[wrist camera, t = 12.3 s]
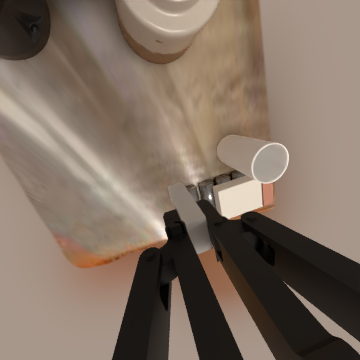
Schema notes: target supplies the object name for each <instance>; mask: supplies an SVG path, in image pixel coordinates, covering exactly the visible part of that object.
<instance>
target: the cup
mask: <svg viewBox="0 0 360 360" xmlns="http://www.w3.org/2000/svg"><path fill="white" fill-rule="evenodd" d="M217 156H218V158H219V160H220V161H221V162H223V163H224V164H226V165H228V166H230V167H232V168H234V169H235V170H237V171H239V172H241V173H243V174H245V175H247V176H248V177H250V178H252V179H254V180H256V181H258V182H260V183H264V184H268V183H272V182H274V181H276V180H277V179H279V178H280V177H281V176H282V174H283V173H284V172H285V170H286V168H287V166H288V162H289V155H288V151H287V149H286V148H285V147H284V146H283V145H281V144H279V143H275V142H270V141H265V140H259V139H254V138H249V137H244V136H239V135H227V136H225V137H224V138H223V139H222V140H221V141H220V142H219V144H218V146H217Z"/></svg>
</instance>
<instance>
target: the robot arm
mask: <svg viewBox="0 0 360 360" xmlns="http://www.w3.org/2000/svg"><path fill="white" fill-rule="evenodd" d="M49 33H50V15H49V10H48V7H47V4H46V1H45V0H0V57H1V58H4V59H10V60H22V59H27V58H30V57H32V56H34V55H36V54H37V53H39V52H40V51H41V50H42V49H43V47H44V46H45V44H46V42H47V40H48V37H49ZM167 187H168V190H169V194H170V197H171V200H172V204H173V207H174V210H172V211H169V212H166V213H165V214H164V216H163V218H164V222H165V226H166V227H165V231H166V234H167V237H168V241H167V243H166V244H165V245H164V246H163V247H161V248H160V249H158V248H156V247H151V248H148V249H146V250H145V251H143V253H142V254H141V255H140V257H139V261H138V264H137V268H136V272H135V276H134V279H133V283H132V287H131V290H130V294H129V298H128V302H127V305H126V309H125V313H124V317H123V321H122V324H121V328H120V332H119V335H118V339H117V343H116V346H115V350H114V354H113V358H112V360H168V351H169V331H170V308H171V288H172V287H171V286H172V282H171V281H172V280H173V279H175V278H176V277H177V276H178V278H179V282H180V286H181V290H182V293H183V298H184V301H185V305H186V309H187V313H188V317H189V321H190V324H191V328H192V332H193V336H194V340H195V344H196V347H197V352H198V356H199V359H200V360H243V358H242V356H241V353H240V351H239V348H238V346H237V344H236V341H235V339H234V337H233V335H232V332H231V330H230V328H229V326H228V323H227V321H226V319H225V317H224V314H223V312H222V310H221V307H220V305H219V303H218V300H217V298H216V296H215V294H214V291H213V289H212V287H211V285H210V282H209V280H208V278H207V275H206V273H205V271H204V269H203V267H202V264H201V262H200V260H199V257H198V255H197V254H199V253H202V252H204V251H207V250H210V249H212V248H213V247H212V245H213V246H214V249H215V253H216V258H217V261H219V260H220V262H221V264H222V266H223V267H224V269H225V271H226V273H227V275H228V276H229V278H230V280H231V282H232V283H233V285H234V287H235V289H236V290H237V292H238V294H239V296H240V297H241V299H242V301H243V303H244V305H245V306H246V308H247V310H248V312H249V313H250V315H251V317H252V319H253V320H254V322H255V324H256V326H257V327H258V329H259V331H260V333H261V334H262V336H263V338H264V340H265V342H266V343H267V345H268V347H269V349H270V350H271V352H272V353H273V356H274V357H275V359H276V360H360V355H359V354H358V352H357V351H356V350H354V349H353V348H352V347H351V346H350V345H349V344H348V343H347V342H345V341H344V340H343V339H341V338H338V337H335V336H332V335H331V334H330V333H328V332H327V330H326V329H324V327H323V326H322V325H321V324H320V323H319V322H318V321H317V319H316V318H315V317H314V316H313V315H312V314H311V313H310V311H309V310H308V309H307V308H306V307H305V306H304V305H303V303H302V302H301V301H300V300H299V299H298V298H297V297H296V296H295V294H294V293H293V292H292V291H291V290H290V289H289V288H288V286H287V285H286V284H288V285H289V286H290V287H291V288H293V289H294V290H295V291H296V292H298V293H299V294H300V295H301V296H303V297H304V298H305V299H306V300H308V301H309V302H310V303H311V304H313V305H314V306H315V307H316V308H318V309H319V310H320V311H321V312H323V313H324V314H325V315H327V316H328V317H329V318H330V319H332V320H333V321H334V322H336V323H337V324H338V325H339V326H340V327H342V328H343V329H344V330H346V331H347V332H348V333H349V334H350V335H352V336H353V337H354V338H356V339H357V340H358V341H359V342H360V264H359V263H357V262H355V261H353V260H351V259H349V258H347V257H345V256H343V255H341V254H339V253H337V252H335V251H333V250H331V249H329V248H327V247H325V246H323V245H321V244H319V243H317V242H315V241H313V240H311V239H309V238H307V237H305V236H303V235H301V234H299V233H297V232H295V231H293V230H291V229H289V228H288V227H286V226H284V225H282V224H280V223H278V222H276V221H274V220H271V219H270V218H268V217H266V216H264V215H262V214H260V213H257V212H252V211H251V212H246V213H244V214H242V216H241V219H238V220H229V219H228V218H226V217H225V216H221V215H220V214H219V213H218V211H217V210H216V209H215V208H214V207H213V205H211V203H210V202H209V201H208V200H205V199H203V200H200V201H197V202H195V200H194V199H193V197H192V196H191V194H190V193H189V192H188V190H187V189H186V187H185V186H184V184H183V183H182V182H179V183H175V184H172V185H169V186H167ZM282 280H283V281H284V282H285V283H286V284H285V283H284V282H283V281H282Z"/></svg>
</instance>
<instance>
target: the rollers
mask: <svg viewBox="0 0 360 360" xmlns="http://www.w3.org/2000/svg"><path fill="white" fill-rule="evenodd" d="M243 176H246V175H245V174H243V173H241V172H239V171H237V170H235V171H233V172H232V180H234V179H237V178H240V177H243ZM228 181H231V180H230V176H229V175H220V176H217V177H216V185H219V184H222V183H225V182H228ZM213 186H214V182H213V181H212V180H204V181H202V182H200V183H199V187H200V191H201V196H202V200H203V199H205V200H208V201H209V202H210V203H211V205H213V207H214V208H215V209H216V203H215V198H214V192H213ZM186 189H187V190H188V192H189V193H190V194H191V196H192V197H193V199H194V200H195V202H197V201H199V196H198V192H197V188H196V186H194V185H190V186H186ZM216 210H217V209H216Z"/></svg>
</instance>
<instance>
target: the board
mask: <svg viewBox="0 0 360 360" xmlns="http://www.w3.org/2000/svg"><path fill="white" fill-rule="evenodd" d="M213 192H214V198H215V203H216V209H217V211H218V213H219V214H220V215H221V216H225V217H226V218H228V219H229V218H232V217H235V216H238V215H240V214H243V213H246V212H249V211H251V210H254V209H257V208H260V207H262V206H263V205H262V189H261V183H260V182H258V181H256V180H254V179H252V178H250V177H248V176H247V175H246V176H243V177H240V178H237V179H234V180H231V181H228V182H225V183H222V184H219V185H216V186H213Z"/></svg>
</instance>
